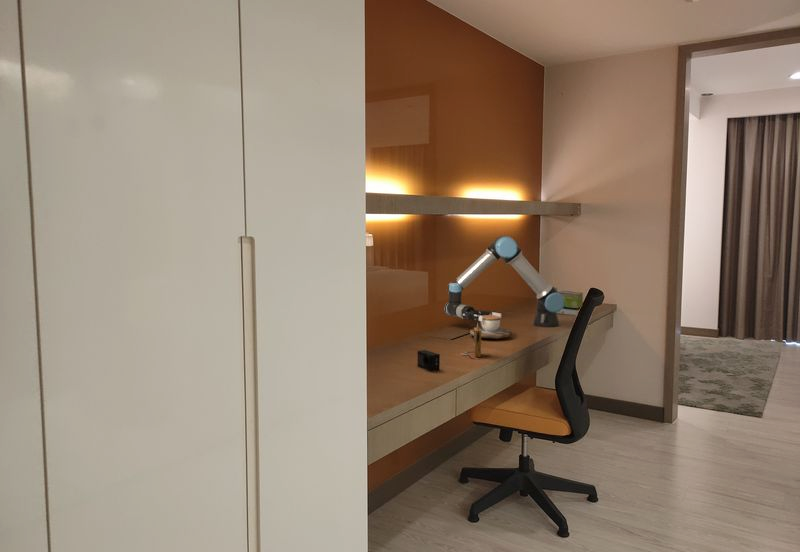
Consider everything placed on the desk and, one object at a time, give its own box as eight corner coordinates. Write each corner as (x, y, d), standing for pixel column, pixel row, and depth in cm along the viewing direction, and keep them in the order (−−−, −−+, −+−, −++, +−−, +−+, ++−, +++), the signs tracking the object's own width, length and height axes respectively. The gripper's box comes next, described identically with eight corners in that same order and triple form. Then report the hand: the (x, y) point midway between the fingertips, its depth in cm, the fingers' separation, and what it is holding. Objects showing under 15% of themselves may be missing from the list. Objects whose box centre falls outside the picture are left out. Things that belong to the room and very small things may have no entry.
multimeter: (458, 352, 299) (458, 311, 297) (478, 352, 298) (479, 311, 296) (460, 359, 284) (460, 316, 282) (481, 359, 284) (482, 317, 282)
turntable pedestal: (490, 334, 341) (490, 332, 341) (503, 337, 333) (503, 335, 333) (477, 336, 335) (477, 334, 335) (489, 339, 327) (489, 337, 327)
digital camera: (415, 366, 271) (415, 351, 270) (424, 364, 274) (424, 349, 273) (429, 371, 262) (429, 355, 262) (439, 369, 266) (439, 354, 265)
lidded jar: (499, 333, 328) (500, 315, 327) (479, 332, 330) (479, 315, 329) (500, 329, 338) (500, 312, 337) (480, 328, 340) (481, 311, 339)
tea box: (555, 313, 414) (556, 291, 412) (560, 311, 422) (561, 290, 420) (577, 315, 405) (578, 293, 404) (582, 313, 413) (583, 292, 412)
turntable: (491, 328, 349) (491, 325, 349) (519, 335, 331) (519, 331, 331) (461, 332, 337) (461, 329, 336) (489, 339, 319) (489, 336, 319)
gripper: (481, 316, 357) (508, 322, 340) (448, 320, 342) (474, 326, 325) (482, 303, 356) (508, 308, 339) (449, 307, 342) (474, 312, 324)
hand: (491, 317), depth 332 cm, fingers open, 13 cm apart
